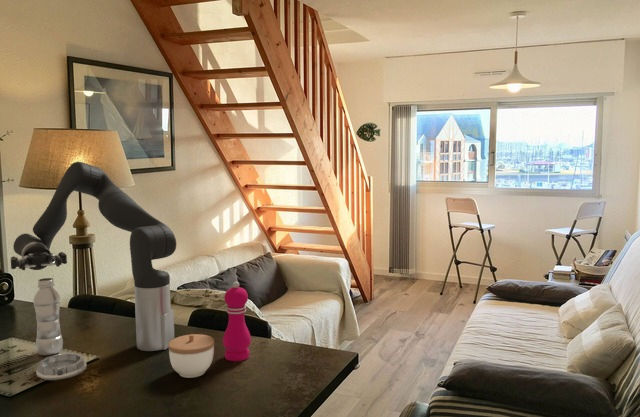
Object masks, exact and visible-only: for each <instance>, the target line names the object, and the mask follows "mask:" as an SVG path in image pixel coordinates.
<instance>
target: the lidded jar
mask: <svg viewBox="0 0 640 417" xmlns="http://www.w3.org/2000/svg"><path fill="white" fill-rule="evenodd" d="M167 349H168V355H169V362H170V365H171V367H172V369H173V370H174V371H175V373H177V374H179V376H180V377H182V378H187V379H189V378H190V379H192V378H193V379H194V378H198V377H200V376H203V375H204V374H205V373H206V372H207V370H208V369H209V368H210V366H211V364H212V362H213V360H214V353H215V339H214V338H213V337H212V336H210V335H207V334H199V333H198V334H197V333H196V334H195V333H194V334H191V333H190V334H186V335H185V334H184V335H180V336H178V337H174V339H173V340H171V341H170V342H169V344H168V348H167Z"/></svg>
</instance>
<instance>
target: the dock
mask: <svg viewBox="0 0 640 417" xmlns="http://www.w3.org/2000/svg"><path fill="white" fill-rule="evenodd" d="M86 370H87V361H86V360H85V355H83V354H81V353H75V352H65V353H56V354H52V355H49V356H46V357H45V358H43V359H42V360H40V361H38V364H37V368H36V370H35V371H36V372H35V375H37V376H36V378H38V377H39V378H41V379H40V380H42V379H44V381H60V380H66V379H70V378H73V377H75V376H78V375H81V374H82V373H84V372H85V371H86ZM39 378H38V379H39Z"/></svg>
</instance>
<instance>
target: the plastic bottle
mask: <svg viewBox="0 0 640 417" xmlns="http://www.w3.org/2000/svg"><path fill="white" fill-rule="evenodd" d="M54 282H55V281H54V278H53V277H46V278H45V277H44V278H40V279H38V280H37V283H38V285H37V288H38V290H37V292H36V293H35V295H34V297H33V299H32V301H33V307H34V311H35V318H36V339H35V349H36V352H37V354H39V355H40V356H53V355H57V354H59V353H60V352H61V351H62V349H63V345H64V340H63V336H62V332H61V331H62V330H61V326H60V308H61V296H60V293H58V291H57V290H56V289H55V288H54V286H55V283H54Z"/></svg>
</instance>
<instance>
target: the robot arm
mask: <svg viewBox="0 0 640 417" xmlns="http://www.w3.org/2000/svg"><path fill="white" fill-rule="evenodd" d="M63 174H64V175H63V176H62V178H61V179H60V182H59V183H58V185H57V188H56V190H55V192H54V194H53V195H52V199H51V200H50V202H49V204H48V206H47V207H46V208H45V210H44V211H43V213H42V214H41V215H40V216H39V218H38V220H37V221H36V222H35V223H34V224H33V227H32V233H33V234H34V235H35V236H34V235H32V234H29V233H22V234H19V235H18V236H17V237H16V238H15V240H14V242H13V246H12V247H13V248H12V249H13V251H14V253H15V254H17V255H19V256H20V257H21V258H18V257H16V256H11V257H10V269H11V270H15V269H17V268H18V269H19V270H21V271H26V269H29V270H33V271H41V270H43V269H46V268H47V267H49V266H50V267H52V266H55V267H58V268H59V267H60V266H62V265H66V264H68V258H67V256H68V255H67V254H66V253H65V252H62V251H61V252H58V253H57V255H56V254H55V253H52V252H51V251H50V248H51V245H52V243H53V240H54V238H55V236H56V235H58V233H59V231H60V230H61V229H62V227H63V226H64V225H65V223H66V220H67V217H68V215H67V214H68V208H67V206H68V205H67V204H68V203H67V202H68V199H69V197H70V195H71V194H72V193H74V192H78V193H81V194H85V195H89V196H92V197H94V198H95V199H97V200H98V203H97V204H98V210H99V212H100V214H101V215H102V216H103V217H104V218H105V219H106V220H107V222H109V223H110V224H111V225H112V226H114V227H116V228H118V229H121V230H123V231H126V232H130V235H129V236H130V237H129V250H130V252H129V253H130V261H131V273H132V277H133V282H134V283H133V284H134V305H135V306H134V308H135V310H134V313H135V331H136V332H135V333H136V334H135V336H136V348H137V350H140V351H144V352H154V351H163V350H168V349H169V348H168V344H169V342H170V341H171V340H173V339H175V316H174V315H175V313H174V309H173V308H171V282H170V281H171V277H170V274H169V272H168V271H164V270H160V269H155V268H154V265H153V262H152V261H155V260H159V259H160V260H161V259H164V258H167V257H170V256H172V255H173V254H174V253H175V251H176V249H177V238H176V236H175V234H174V232H173V231H172V229H171V228H170V227H169V226H168V225H167V224H165V223H164V222H162V221H160V220H159V219H157V218H156V217H155V216H153V215H151V214H150V213H149V212H147V211H146V210H145V209H144V208H143V207H141V205H139V204H138V203H137V202H136V201H135V200H134V199H133V198H132V197H130V195H128V194H127V193H126V192H125V191H123V190H122V189H121V188H120V187H119V186H118V185H116V183H114V182H113V181H112V179H111V178H110V176H108V174H107V173H106V172H105V171H104V170H103V169H101V167H100V168H99V167H98V166H96V165H91V164H88V163H85V162H82V161H75V162H73V163H71V164H70V165H69V167H68V168H67V169H66V171H65V173H63Z"/></svg>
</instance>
